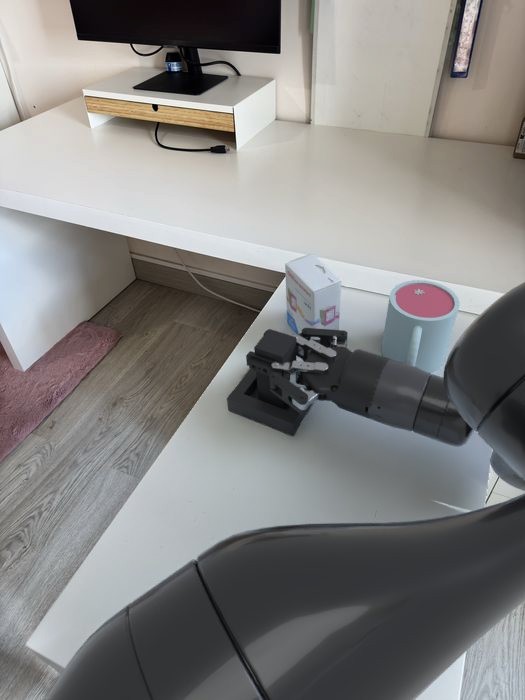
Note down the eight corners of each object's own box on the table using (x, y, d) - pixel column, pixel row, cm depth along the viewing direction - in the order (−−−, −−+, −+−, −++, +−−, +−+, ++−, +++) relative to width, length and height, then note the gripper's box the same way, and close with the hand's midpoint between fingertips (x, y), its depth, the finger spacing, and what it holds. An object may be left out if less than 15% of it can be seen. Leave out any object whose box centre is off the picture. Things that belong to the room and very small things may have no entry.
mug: (387, 327, 80) (395, 275, 74) (447, 339, 78) (462, 286, 71) (369, 387, 71) (377, 334, 64) (437, 403, 69) (453, 349, 62)
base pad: (293, 436, 66) (293, 424, 64) (228, 410, 69) (226, 398, 67) (323, 386, 72) (324, 373, 70) (262, 365, 75) (261, 352, 74)
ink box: (284, 322, 83) (283, 260, 75) (310, 312, 84) (312, 251, 76) (312, 353, 77) (313, 290, 69) (339, 342, 78) (344, 279, 70)
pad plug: (284, 410, 68) (282, 356, 61) (258, 400, 70) (253, 347, 63) (296, 390, 71) (296, 337, 64) (271, 381, 72) (268, 328, 65)
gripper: (406, 330, 61) (280, 294, 68) (365, 411, 52) (225, 361, 59) (397, 373, 66) (281, 336, 73) (359, 453, 57) (230, 403, 64)
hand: (256, 347), depth 66 cm, fingers closed on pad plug, 4 cm apart
